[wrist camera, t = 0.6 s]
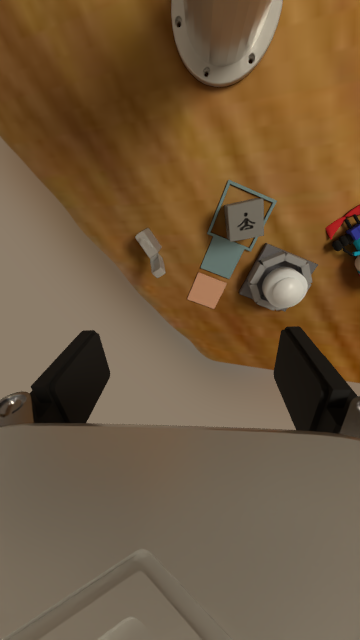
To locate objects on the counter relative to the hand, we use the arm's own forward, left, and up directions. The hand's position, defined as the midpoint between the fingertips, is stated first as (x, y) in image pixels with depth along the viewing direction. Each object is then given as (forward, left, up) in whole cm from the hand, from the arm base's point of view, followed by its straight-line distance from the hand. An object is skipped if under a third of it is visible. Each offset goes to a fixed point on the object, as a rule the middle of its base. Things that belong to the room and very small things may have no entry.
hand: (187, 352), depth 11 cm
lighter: (+4, -7, -32) cm, 33 cm away
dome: (+1, +16, -28) cm, 33 cm away
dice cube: (-6, +5, -32) cm, 33 cm away
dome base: (+1, +16, -32) cm, 36 cm away
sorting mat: (0, +5, -32) cm, 32 cm away
